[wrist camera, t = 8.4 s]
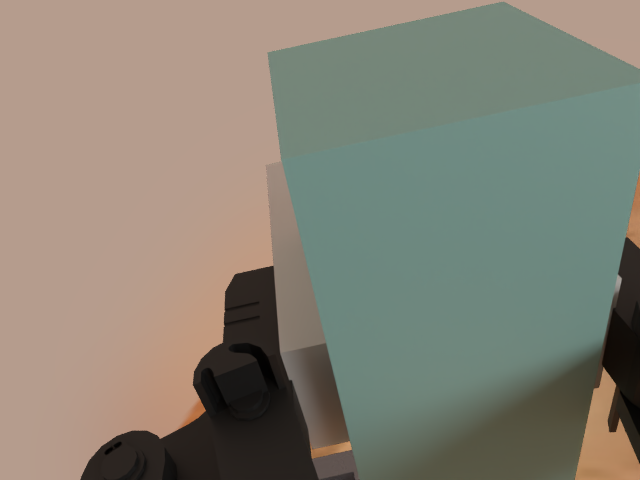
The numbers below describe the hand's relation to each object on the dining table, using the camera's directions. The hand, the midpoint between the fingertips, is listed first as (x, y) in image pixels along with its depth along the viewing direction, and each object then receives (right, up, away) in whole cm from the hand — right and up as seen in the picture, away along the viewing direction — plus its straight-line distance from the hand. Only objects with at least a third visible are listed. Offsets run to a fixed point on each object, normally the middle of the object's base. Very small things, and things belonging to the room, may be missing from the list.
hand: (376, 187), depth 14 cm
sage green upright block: (+2, -9, 0) cm, 9 cm away
